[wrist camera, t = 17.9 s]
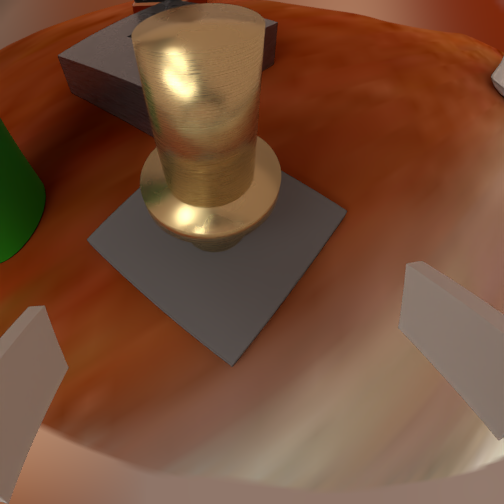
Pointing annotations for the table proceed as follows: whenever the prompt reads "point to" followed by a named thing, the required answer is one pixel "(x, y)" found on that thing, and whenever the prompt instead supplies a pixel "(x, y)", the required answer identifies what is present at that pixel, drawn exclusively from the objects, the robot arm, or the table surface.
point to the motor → (17, 197)
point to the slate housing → (125, 66)
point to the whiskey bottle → (141, 3)
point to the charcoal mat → (221, 265)
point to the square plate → (499, 78)
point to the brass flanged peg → (205, 124)
